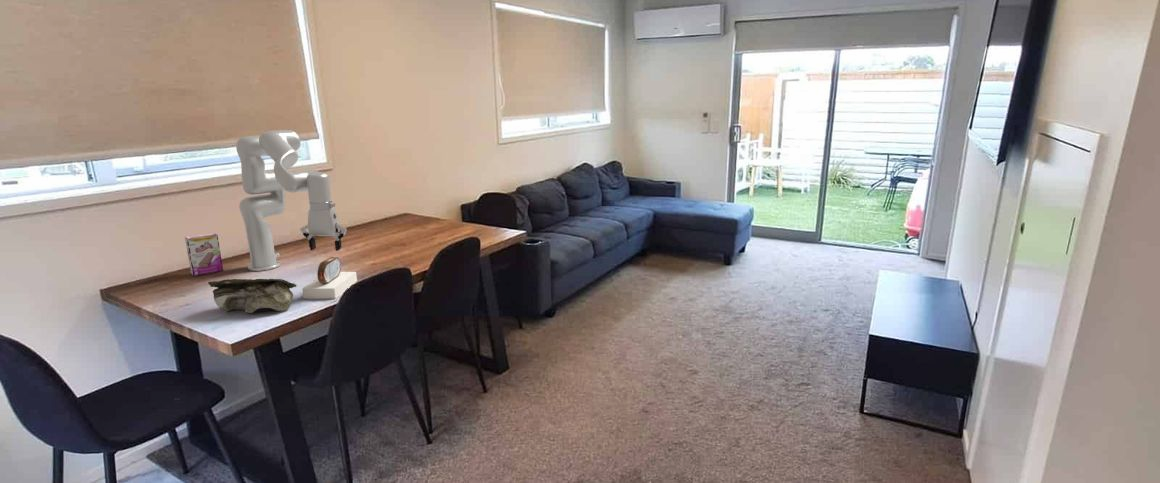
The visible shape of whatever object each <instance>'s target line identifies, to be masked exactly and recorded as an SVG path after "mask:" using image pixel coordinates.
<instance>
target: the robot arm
mask: <svg viewBox="0 0 1160 483" xmlns="http://www.w3.org/2000/svg"><path fill="white" fill-rule="evenodd" d="M235 146H236V147H235V149H236V153H237V155H238V157H239V161H240V166H241V182H242V183H241V185H242V189H243V191H244V192H245V194H247V195H252V196H248V197H245V198H243V199H241V200H240V202H239V205H238V208H239V211H240V214H241V216H242V220H243V222H244V228H245V233H246V239H247V246H248V251H249V257H250V264H248V265H247V269H248V270H249V271H253V272H260V271H261V272H262V271H268V270H274V269H276V268H279V267H280V266H281V261H279V260H277V258H279V257H280V256H281V255H280V253H279V252H275V246H274V239H273V232H272V227H271V225H270V224H269V223H268V221H266V220H265V219H264V218H268V217H273V216H278V215H281V214H283V213H284V212H285V211H286V210H285V209H286V192H288V193H299V192H307V195H308V202H309V203H308V204H309V209H308V213H307V214H308V215H307V224H306V225H304V226H303V227H300V228H299V229H300V231H301V233H302V235H303V236H304V237H305V238H306V240H307V241H308V247H309V248H310V251H314V250H315V249H317V244H316V243H317V242H316V239H315V236H319V237H332V238H333V239H335V240H334V248H335V251H336V252H338V251H340V250H341V248H342V239H343V238H344V237H345V236H346V233H347V231H348V229H347V228H346V227H344V226H342V225H340V224H339V220H338V219H339V218H338V215H337V212H336V209H335V208H333V207H336V203H334V202H333V201H332V195H331V186H330V178H329V175H328V173H326V172H321V171H318V170H316V169H311V170H310V169H309V170H301V171H299V170H297V171H292V172H291V171H288V169H290V168H292V167H293V166H294V165H295V164H296V163H297V162H298V160H299V154H298V152H297V151H298V150H299V148H300V147H301V139H300V137H299V135H298V134H297V132H296V131H294V130H290V129H279V130H278V129H277V130H268V131H267V130H266V131H265V132H262V133H261V134H256V135H247V136H246V135H245V136H242V137H239V138H238V139H237V141H236V143H235ZM262 157H269V158H271V159H272V160H273V162H274V166H273V169H269V170H266V169H265V168H266V167H265V166H266V164H265V161H264V159H263V158H262ZM253 195H254V196H253ZM307 229H308V231H307ZM340 231H341V232H340ZM339 232H340V233H339Z"/></svg>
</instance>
